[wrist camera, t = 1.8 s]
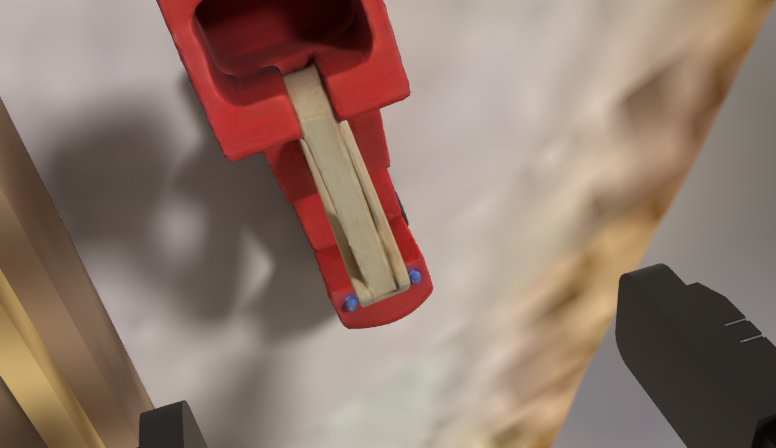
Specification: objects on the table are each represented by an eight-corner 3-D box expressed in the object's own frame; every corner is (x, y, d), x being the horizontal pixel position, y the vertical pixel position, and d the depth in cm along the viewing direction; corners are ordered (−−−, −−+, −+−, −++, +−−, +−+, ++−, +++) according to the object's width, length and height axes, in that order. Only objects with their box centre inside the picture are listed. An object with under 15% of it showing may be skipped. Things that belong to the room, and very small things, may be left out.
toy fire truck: (323, 272, 26) (398, 506, 19) (144, -127, 18) (144, -1, 10) (411, 237, 26) (519, 455, 19) (273, -174, 18) (370, -85, 10)
